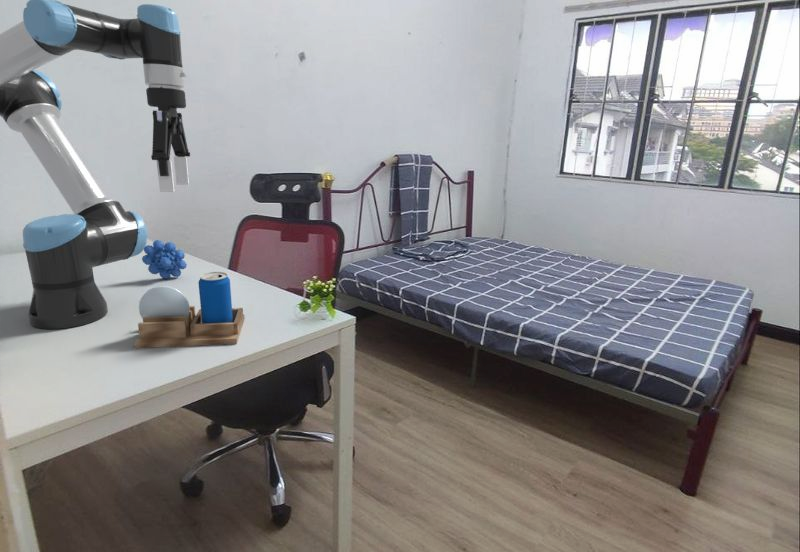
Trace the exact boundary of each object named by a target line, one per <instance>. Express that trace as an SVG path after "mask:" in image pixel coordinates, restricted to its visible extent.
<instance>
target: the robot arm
mask: <svg viewBox="0 0 800 552" xmlns="http://www.w3.org/2000/svg"><path fill="white" fill-rule="evenodd" d="M136 9H137V11H136V12H137V14H136V17H137V18H120V17H119V18H117V17H114V16H112V15H111V16H110V15H107V14H103V13H99V12H96V11H92V10H88V9H85V8H80V7H77V6H73V5H70V4H66V3H62V2H60V1H57V0H28V1H27V2H26V7H24V8H23V11H22V12H23V13H22V19H23V20H22V21H21V22H19V23H17V24H15V25H13V26H11V27H9V28H8V29H6V30H5V31H3V32H1V33H0V117H1V118H2V119H3V120H4V122H5V123H6V126H7V127H9V129H11V131H14V132H16V133H21V135H22V137H23V138H24V139H25V141H26V143H27V144H28V145H29V147H30V148H31V151H32V152H33V153H34V156H36V158H37V159H38V160H39V162H40V164H41V165H42V167H43V168H44V170H45V171H46V173H47V174H48V176H49V178H50V180H52V182H53V183H54V185H55V186H56V188H57V189H58V191H59V193H60V194H61V196H62V198H63V199H64V201H66V203H67V205H68V206H69V208H70V210H71V211H72V212H73V213H72V214H68V213H67V214H60V215H50V216H46V217H41V218H38V219H35V220H33V221H31V222H28V223H27V224H26V225H25V227H24V228H23V229H22V241H23V244H22V245H23V248H24V251H25V255H26V259H27V260H26V261H27V263H28V264H27V265H28V270H29V275H30V280H31V284H32V288H33V289H32V290H33V291H32V295H31V300H30V305H29V310H28V319H29V323H30V326H32V327H34V328H36V329H44V330H45V329H46V330H60V329H68V328H75V327H80V326H83V325H84V326H85V325H87V324H91V323H94V322H95V321H98V320H100V319H102V318H104V317H105V316H106V315H107V314H108V311H109V310H108V309H109V308H108V303H107V301H106V299H105V298H104V296H103V294H102V292H101V290H100V289H99V287H98V285H97V284H96V282H95V277H94V269H93V268H95V267H99V266H103V265H107V264H111V263H115V262H118V261H124V260H128V259H130V258H133V257H136V256H138V255H139V254H141V253H142V252H143V251H144V248H145V246H147V242H148V229H147V226H146V222H145V221H144V219H143V218H142V216H141V215H140V214H138V213H136V212H134V211H131V210H127V211H126V210H125V209H124V207H123V205H122V204H121V202H119V200H117V199H113V198H109V196H108V194H107V193H106V191H105V190H104V188H103V186H102V185H101V184H100V182H99V180H98V179H97V178H96V176H95V174H94V173H93V171H92V170H91V169H90V167H89V166H88V163H86V161H85V159H84V158H83V156H82V155H81V152H80V151H79V150H78V148H77V147H76V146H75V144H74V142H73V141H72V139H71V138H70V136H69V134H67V132H66V130H65V129H64V127H63V125H62V124H61V123H60V120H59V119H60V118H61V109H62V105H63V104H62V100H61V99H60V97H61V94H60V90H59V89H58V87H57V85H56V84H55V83H54V81H53V80H52V79H51V78H50V77H49V76H47V75H46V74H44V73H43V72H42V71H39V70H36V69H38V68H40V67H42V66H44V65H46V64H47V63H48V64H49V63H50V62H52V61H54V60H56V59H58V58H60V57H62V56H64V55H66V54H68V53H70V52H72V51H75V50H77V51H78V50H79V51H84V52H90V53H93V54H94V53H96V54H99V55H102V56H104V57H105V58H108V59H118V60H125V59H142V64H143V66H142V67H143V74H144V75H143V76H144V83H145V85H146V86H148V87H147V88H146V89H145V91H146V102H147V105H148V106H149V107H152V108H153V107H154V108H157V110H152V118H153V119H152V121H153V123H152V126H153V127H152V148H151V149H152V150H151V151H152V152H151V153H152V154H151V156H150V157H151V160H152V161H156V167H157V168H156V169H157V176H158V177H157V178H158V186H159V192H161V193H166V192H167V193H174V192H176V191H175V185H176V186H177V185H179V186H180V185H185V186H187V185H188V186H189V185H190V181H189V169H188V159H187V158H189V157H191V152H190V151H189V147H188V144H187V139H186V133H185V128H184V123H183V115H182V112H178V110H177V109H186V107H187V100H186V91H184V90H183V89H182V88H184V87H185V82H184V81H185V80H184V78H186V77H187V74H186V72H184V70H183V69H184V68H183V59H182V45H181V44H182V43H181V31H180V30H181V29H180V25H179V18H178V13H177V12H176V11H175V10H173V9H172V8H169V7H167V6H163V5H157V4H152V3H151V4H149V3H147V4H140V5H138V6H137V8H136ZM171 149H173V153H174V156H173V162H172V160H170V159H171ZM172 163H173V164H174V172H175V173H173V164H172ZM174 174H175V175H174ZM174 176H175V183H176V184H175V183H174Z"/></svg>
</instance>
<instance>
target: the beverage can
mask: <svg viewBox="0 0 800 552" xmlns="http://www.w3.org/2000/svg"><path fill="white" fill-rule="evenodd" d="M199 278H200V279H199V280H198V291H199V301H200V302H199V303H200V309H201V315H202V324H206V323H233V316H232V308H233V306H232V305H233V302H232V290H231V289H232V288H231V279H230V278H229V277H228V273H226V272H222V271H209V272H205V273H202V274H201V275H200V276H199Z"/></svg>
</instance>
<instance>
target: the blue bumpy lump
mask: <svg viewBox="0 0 800 552" xmlns="http://www.w3.org/2000/svg"><path fill="white" fill-rule="evenodd" d="M143 251H144V253H145V255H142V258H141V261H142V263H144V264H145V266H146V265H147V266H148V268H147V269H148V272H149V273H150V274H152V275H157V274H159V276H160V277H161V278H162V279H165V280H168V279H169V278H171V276H173V277H174V278H178V277H180V276H181V275H182V271H181V270H184V269H186V268H187V266H188V265H187V263H186V261H185V260H184V259H185V256H186V255H185V252H184V251H182V250H181V249H177V246H176V244H175V243H173V242H171V241H167V242H166V243H164V242H163V241H162V240H159V239H155V241H153V242H152V245H150V244H149V245H148V244H146V246H145V248H144V250H143Z"/></svg>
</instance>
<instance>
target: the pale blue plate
mask: <svg viewBox="0 0 800 552" xmlns="http://www.w3.org/2000/svg"><path fill="white" fill-rule="evenodd" d="M190 306H191V305H190V303H189V300H188V298H187V297H186V296H185V294H184V293H183V292H181V291H180V290H179V289H177V288H175V287H173V286H168V285H158V286H154V287H152V288H150V289H149V290H147V291H146V292H144V294H143V295H142V296H141V298H140V300H139V304H138V310H139V311H138V312H139V314H140V317H141V319H143V318H144V317H163V316H188V315H189V311H190Z"/></svg>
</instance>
